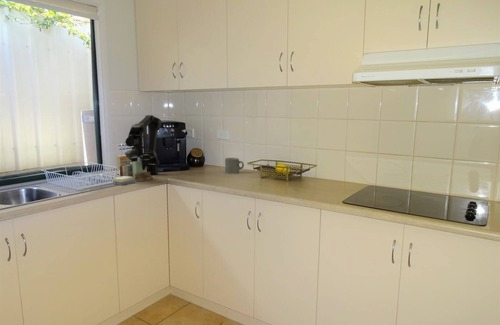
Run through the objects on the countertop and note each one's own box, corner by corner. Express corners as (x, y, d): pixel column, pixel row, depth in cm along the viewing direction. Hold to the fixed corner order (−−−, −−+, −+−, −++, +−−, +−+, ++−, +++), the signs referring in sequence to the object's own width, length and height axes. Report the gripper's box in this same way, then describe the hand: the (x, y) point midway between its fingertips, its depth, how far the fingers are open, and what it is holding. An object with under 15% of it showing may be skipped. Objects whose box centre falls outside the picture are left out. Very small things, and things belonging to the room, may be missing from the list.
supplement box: (120, 175, 234) (119, 156, 232) (116, 174, 237) (115, 155, 235) (131, 173, 240) (130, 155, 238) (127, 172, 243) (126, 154, 241)
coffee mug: (223, 173, 243) (223, 159, 241) (227, 170, 253) (226, 157, 251) (242, 173, 241) (242, 159, 239) (244, 171, 250) (244, 158, 249)
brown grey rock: (134, 175, 233) (134, 163, 232) (152, 179, 220) (152, 166, 219) (120, 177, 224) (119, 165, 223) (138, 181, 212) (137, 168, 211)
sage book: (142, 175, 224) (141, 160, 222) (146, 176, 221) (145, 161, 220) (133, 177, 218) (132, 161, 217) (136, 178, 216) (135, 162, 215)
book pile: (127, 180, 215) (127, 175, 214) (135, 182, 209) (135, 177, 209) (111, 183, 206) (111, 178, 206) (119, 185, 201) (119, 179, 200)
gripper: (118, 145, 216) (119, 169, 219) (135, 147, 205) (136, 172, 207) (134, 143, 225) (135, 167, 227) (151, 145, 214) (152, 170, 216)
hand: (139, 169), depth 219 cm, fingers open, 9 cm apart
